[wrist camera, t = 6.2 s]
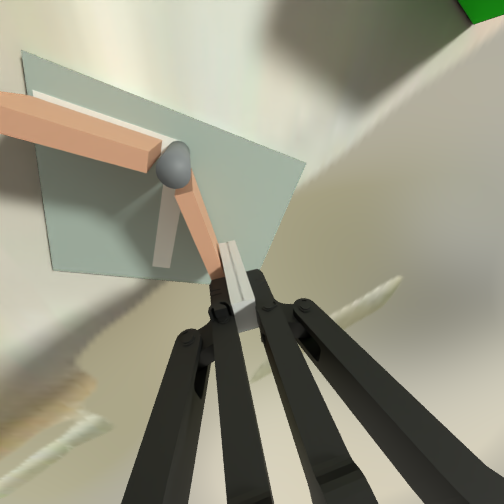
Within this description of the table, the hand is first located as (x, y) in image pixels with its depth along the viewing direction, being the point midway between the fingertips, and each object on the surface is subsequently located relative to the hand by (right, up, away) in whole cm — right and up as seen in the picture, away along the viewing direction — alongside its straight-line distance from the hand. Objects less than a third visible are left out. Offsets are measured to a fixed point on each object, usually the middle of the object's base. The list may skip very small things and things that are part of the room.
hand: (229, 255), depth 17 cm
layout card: (-4, +4, +1) cm, 6 cm away
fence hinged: (-2, +3, +1) cm, 4 cm away
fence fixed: (-7, +9, -3) cm, 11 cm away
